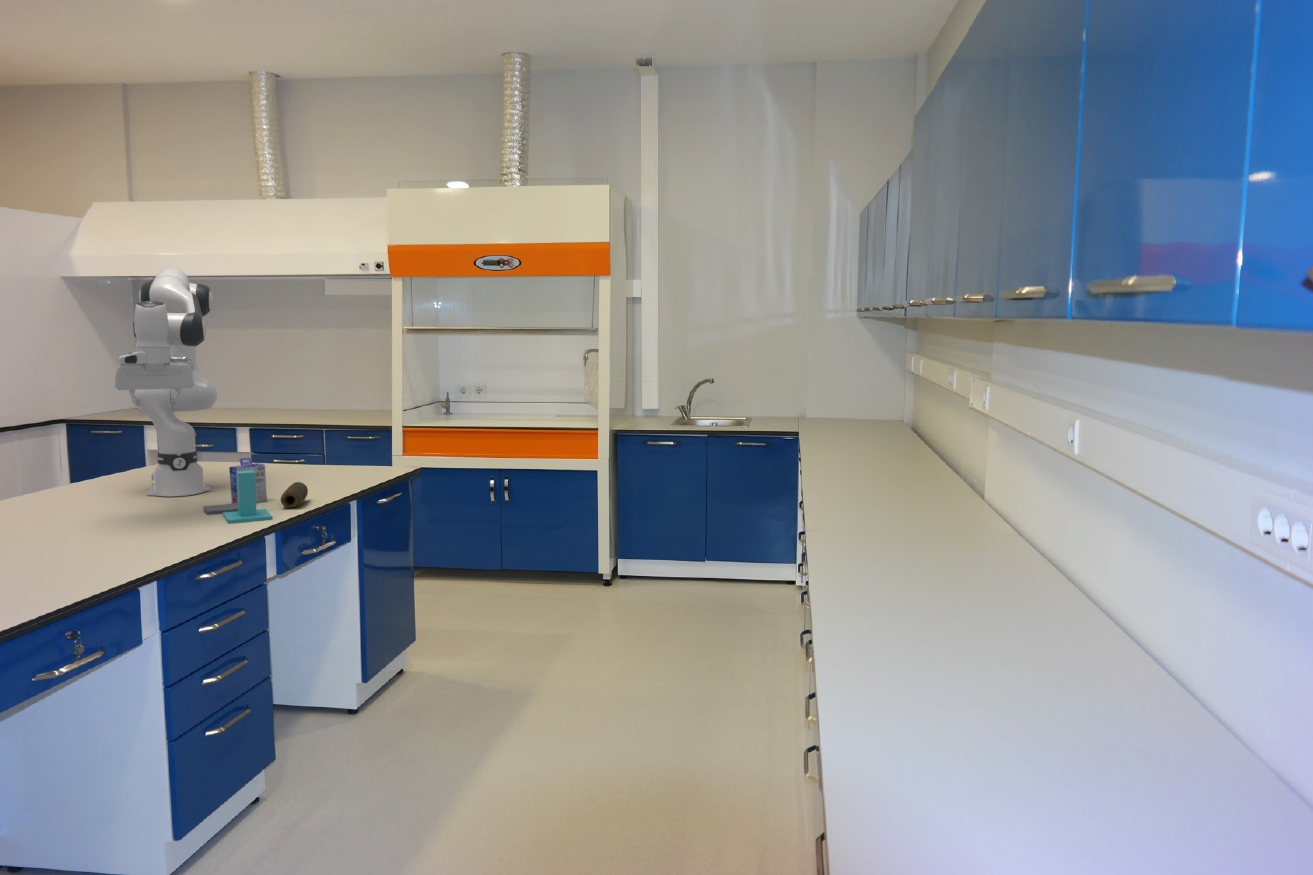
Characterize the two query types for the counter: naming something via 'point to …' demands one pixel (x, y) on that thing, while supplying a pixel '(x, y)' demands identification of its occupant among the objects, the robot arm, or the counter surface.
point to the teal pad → (235, 517)
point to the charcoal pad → (220, 508)
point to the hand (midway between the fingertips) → (156, 404)
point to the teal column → (246, 493)
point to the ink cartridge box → (259, 479)
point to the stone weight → (294, 495)
